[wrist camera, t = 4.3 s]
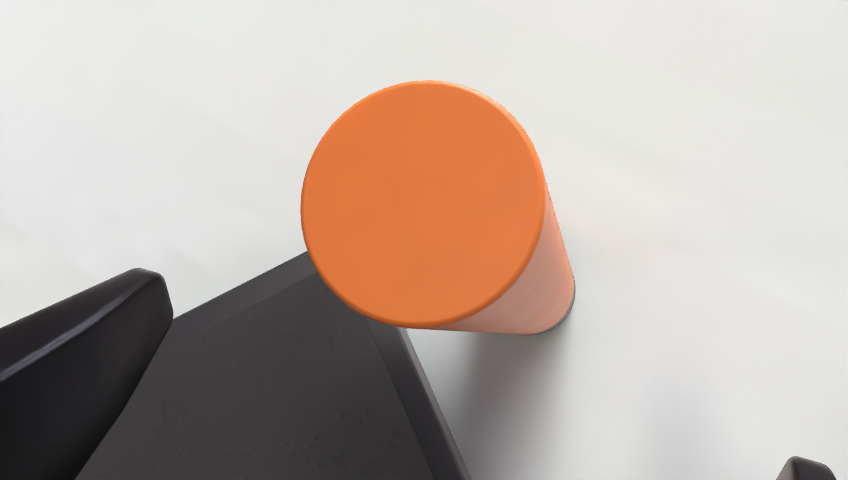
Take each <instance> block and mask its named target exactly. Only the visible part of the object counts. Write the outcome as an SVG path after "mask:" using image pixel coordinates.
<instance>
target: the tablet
mask: <svg viewBox="0 0 848 480" xmlns="http://www.w3.org/2000/svg"><path fill="white" fill-rule="evenodd" d="M75 480H471V478H470V475H469V473H468V471H467V468H466V466H465V464H464V462H463V459H462V457H461V455H460V453H459V450H458V448H457V446H456V444H455V441H454V439H453V437H452V434H451V432H450V430H449V428H448V425H447V423H446V421H445V419H444V416H443V414H442V412H441V409H440V407H439V405H438V403H437V400H436V398H435V396H434V394H433V391H432V389H431V387H430V384H429V382H428V380H427V378H426V375H425V373H424V371H423V369H422V366H421V364H420V362H419V359H418V357H417V355H416V353H415V350H414V348H413V346H412V344H411V341H410V339H409V337H408V334H407V332H406V330H405V328H403V327H397V326H391V325H387V324H384V323H381V322H378V321H375V320H373V319H370V318H368V317H366V316H364V315H362V314H360V313H359V312H357V311H355V310H354V309H352V308H351V307H349V306H348V305H347V304H345V303H344V302H343V301H342V300H341V299H340V298H338V297H337V296H336V295H335V294H334V293H333V292H332V290H331V289H330V288H329V287H328V286H327V285H326V284H325V282H324V281H323V279H322V278H321V276H320V275H319V273H318V272H317V270H316V268H315V266H314V264H313V262H312V260H311V258H310V256H309V253H308V251H306V252H304V253H302V254H300V255H298V256H296V257H294V258H292V259H290V260H288V261H287V262H285V263H283V264H281V265H279V266H277V267H275V268H273V269H271V270H269V271H267V272H265V273H263V274H261V275H259V276H257V277H255V278H253V279H251V280H249V281H247V282H245V283H243V284H241V285H239V286H237V287H235V288H233V289H231V290H229V291H227V292H225V293H224V294H222V295H220V296H218V297H216V298H214V299H212V300H210V301H208V302H206V303H204V304H202V305H200V306H198V307H196V308H194V309H192V310H190V311H188V312H186V313H184V314H182V315H180V316H178V317H176V318H174V319H173V320H172V323H171V326H170V328H169V330H168V332H167V333H166V335H165V337H164V339H163V341H162V342H161V344H160V346H159V348H158V350H157V351H156V353H155V355H154V357H153V359H152V360H151V362H150V364H149V366H148V368H147V369H146V371H145V373H144V375H143V377H142V378H141V380H140V382H139V384H138V386H137V387H136V389H135V391H134V393H133V395H132V396H131V398H130V400H129V401H128V403H127V405H126V406H125V408H124V410H123V411H122V413H121V414H120V416H119V417H118V419H117V420H116V422H115V423H114V424H113V426H112V427H111V429H110V430H109V432H108V433H107V434H106V436H105V437H104V439H103V440H102V442H101V443H100V444H99V446H98V447H97V449H96V450H95V452H94V453H93V454H92V456H91V457H90V459H89V460H88V462H87V463H86V464H85V466H84V467H83V469H82V470H81V472H80V473H79V474H78V476H77V477H76V479H75Z"/></svg>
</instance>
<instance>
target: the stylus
mask: <svg viewBox="0 0 848 480" xmlns="http://www.w3.org/2000/svg"><path fill="white" fill-rule="evenodd" d="M300 212H301V225H302V231H303V236H304V241H305V244H306V247H307V250H308V253H309V256H310V258H311V260H312V262H313V264H314V266H315V268H316V270H317V272H318V273H319V275H320V276H321V278H322V279H323V281H324V282H325V284H326V285H327V286H328V287H329V288H330V289H331V290H332V292H333V293H334V294H335V295H336V296H337V297H338V298H340V299H341V300H342V301H343V302H344V303H345V304H347V305H348V306H349V307H351V308H352V309H354V310H355V311H357V312H359V313H360V314H362V315H364V316H366V317H368V318H370V319H373V320H375V321H378V322H381V323H384V324H387V325H391V326H397V327H403V328H413V329H431V330H449V331H468V332H486V333H504V334H523V335H535V334H541V333H544V332H547V331H549V330H551V329H553V328H555V327H556V326H557V325H559V324H560V323H561V322H562V321H563V320H564V319H565V318H566V316H567V315H568V313H569V312H570V310H571V308H572V305H573V302H574V298H575V281H574V277H573V274H572V270H571V267H570V263H569V260H568V256H567V253H566V249H565V246H564V242H563V239H562V236H561V232H560V229H559V225H558V222H557V218H556V215H555V211H554V208H553V205H552V201H551V198H550V194H549V191H548V187H547V184H546V180H545V177H544V174H543V170H542V167H541V163H540V160H539V157H538V155H537V152H536V150H535V148H534V145H533V143H532V142H531V140H530V138H529V137H528V135H527V133H526V132H525V130H524V129H523V128H522V126H521V125H520V124H519V123H518V121H517V120H516V119H515V118H514V117H513V116H512V115H511V114H510V113H509V112H508V111H507V110H506V109H505V108H504V107H503V106H501V105H500V104H498V103H497V102H495V101H494V100H493V99H491V98H490V97H488V96H486V95H484V94H482V93H480V92H478V91H476V90H474V89H471V88H468V87H465V86H463V85H459V84H454V83H450V82H444V81H431V80H428V81H412V82H407V83H401V84H397V85H394V86H391V87H388V88H384V89H382V90H380V91H377V92H375V93H373V94H371V95H369V96H367V97H365V98H364V99H362V100H361V101H359V102H357V103H356V104H354V105H353V106H352V107H351V108H349V109H348V110H347V111H346V112H344V113H343V114H342V115H341V116H340V117H339V118H338V119H337V120H336V121H335V122H334V123H333V124H332V126H331V127H330V128H329V129H328V131H327V132H326V133H325V135H324V136H323V137H322V139H321V141H320V142H319V144H318V146H317V147H316V149H315V151H314V153H313V155H312V158H311V160H310V162H309V165H308V168H307V171H306V174H305V178H304V182H303V188H302V194H301V211H300Z"/></svg>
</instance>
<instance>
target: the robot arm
mask: <svg viewBox="0 0 848 480" xmlns="http://www.w3.org/2000/svg"><path fill="white" fill-rule="evenodd" d="M172 320H173V308H172V304H171V301H170V297H169V294H168V290H167V286H166V283H165V280H164V278H163V276H162V275H161V274H159V273H156V272H153V271H149V270H146V269H142V268H135V269H132V270H129V271H127V272H124V273H122V274H120V275H118V276H116V277H113V278H111V279H109V280H107V281H104V282H102V283H100V284H98V285H96V286H93V287H91V288H89V289H87V290H84V291H82V292H80V293H78V294H76V295H73V296H71V297H69V298H67V299H64V300H62V301H60V302H58V303H55V304H53V305H51V306H49V307H47V308H44V309H42V310H40V311H38V312H35V313H33V314H31V315H29V316H27V317H24V318H22V319H20V320H18V321H15V322H13V323H11V324H9V325H7V326H4V327H2V328H0V480H75V479H76V477H77V476H78V474H79V473H80V472H81V470H82V469H83V467H84V466H85V464H86V463H87V462H88V460H89V459H90V457H91V456H92V454H93V453H94V452H95V450H96V449H97V447H98V446H99V444H100V443H101V442H102V440H103V439H104V437H105V436H106V434H107V433H108V432H109V430H110V429H111V427H112V426H113V424H114V423H115V422H116V420H117V419H118V417H119V416H120V414H121V413H122V411H123V410H124V408H125V406H126V405H127V403H128V401H129V400H130V398H131V396H132V395H133V393H134V391H135V389H136V387H137V386H138V384H139V382H140V380H141V378H142V377H143V375H144V373H145V371H146V369H147V368H148V366H149V364H150V362H151V360H152V359H153V357H154V355H155V353H156V351H157V350H158V348H159V346H160V344H161V342H162V341H163V339H164V337H165V335H166V333H167V332H168V330H169V328H170V326H171V323H172ZM776 480H836V478H835V476H834V474H833V473H832V471H831V470H830V469H829V468H828V467H827V466H826V465H824V464H822V463H819V462H815V461H812V460H808V459H805V458H801V457H798V456H794V457H791V458H790V459H789V460H788V461H787V462H786V464H785V465H784V467H783V469H782V471H781V472H780V474H779V476H778V477H777V479H776Z"/></svg>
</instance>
